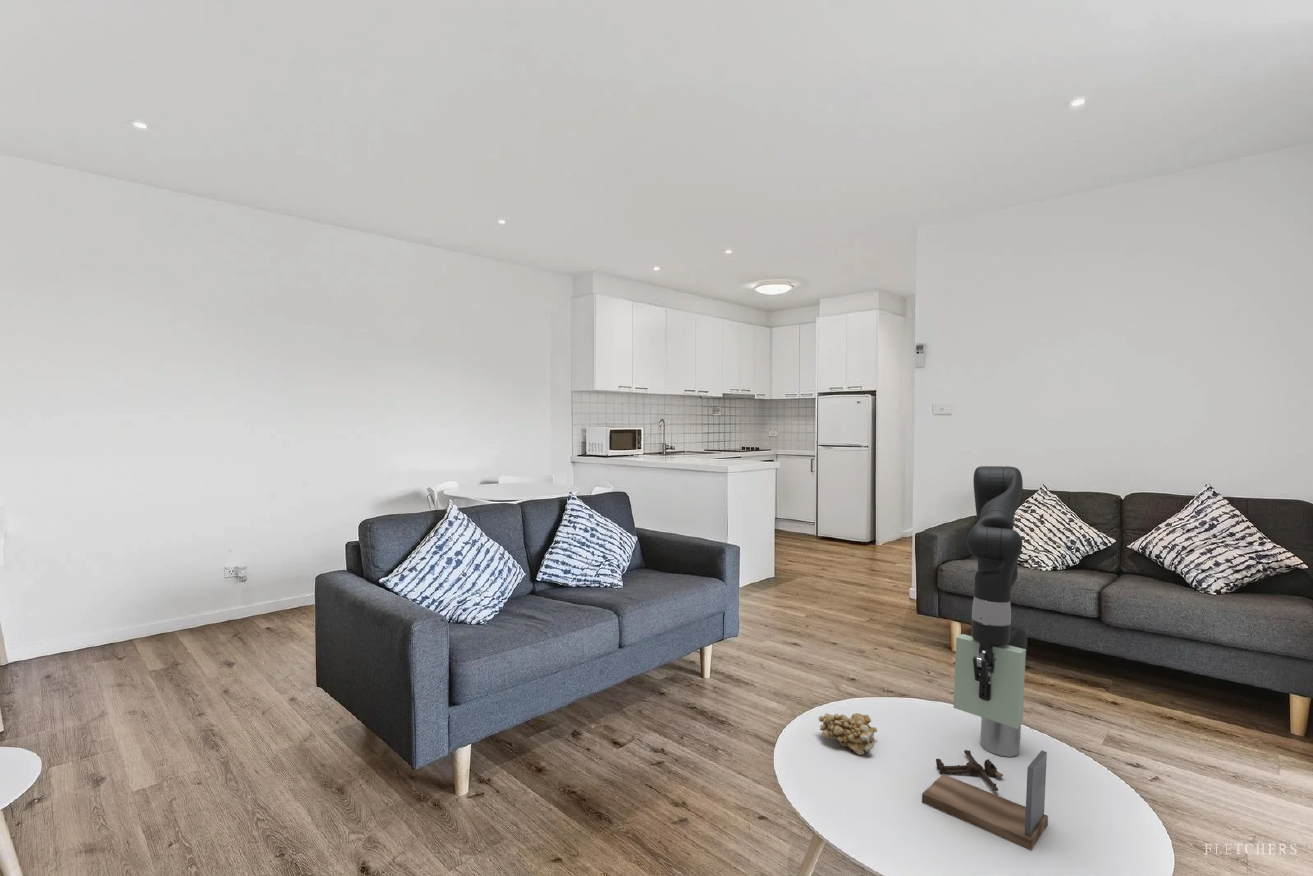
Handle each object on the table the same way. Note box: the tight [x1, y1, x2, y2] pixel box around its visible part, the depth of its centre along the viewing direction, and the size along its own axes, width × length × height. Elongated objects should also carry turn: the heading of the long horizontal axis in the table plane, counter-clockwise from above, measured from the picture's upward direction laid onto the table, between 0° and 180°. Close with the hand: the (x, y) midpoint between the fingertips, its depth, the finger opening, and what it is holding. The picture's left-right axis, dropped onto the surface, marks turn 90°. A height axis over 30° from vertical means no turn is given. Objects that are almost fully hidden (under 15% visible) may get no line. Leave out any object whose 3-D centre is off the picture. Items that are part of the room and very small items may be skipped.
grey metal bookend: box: [1025, 750, 1048, 837], centre depth 134 cm, size 10×1×14 cm, turn 135°
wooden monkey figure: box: [935, 749, 1004, 792], centre depth 157 cm, size 18×4×14 cm
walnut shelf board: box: [921, 774, 1049, 851], centre depth 141 cm, size 12×22×2 cm, turn 45°
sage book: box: [953, 633, 1027, 729], centre depth 140 cm, size 4×13×16 cm, turn 45°
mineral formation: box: [818, 712, 878, 756], centre depth 171 cm, size 8×13×15 cm
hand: (987, 696), depth 140 cm, fingers closed on sage book, 3 cm apart
